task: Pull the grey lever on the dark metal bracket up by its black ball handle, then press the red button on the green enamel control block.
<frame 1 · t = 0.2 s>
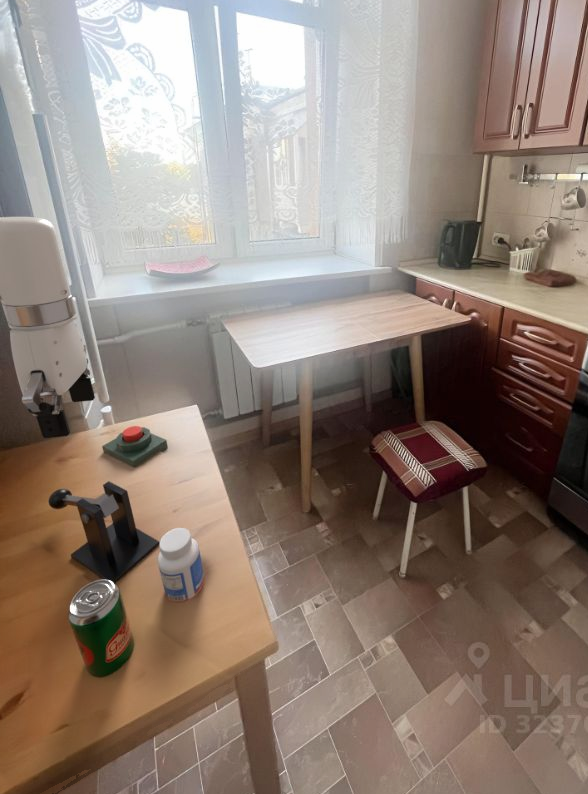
hand: (71, 416, 60), 22 cm above the table, tool pointing down, fingers open, 9 cm apart
bracket: (117, 553, 63), on the table
pill bottle: (185, 587, 58), on the table
soda can: (114, 663, 49), on the table
button: (132, 434, 84), point 4 cm above the table, slide at 0.1 cm
lever: (81, 501, 63), point 8 cm above the table, hinge at -20.0°
control block: (136, 451, 86), on the table
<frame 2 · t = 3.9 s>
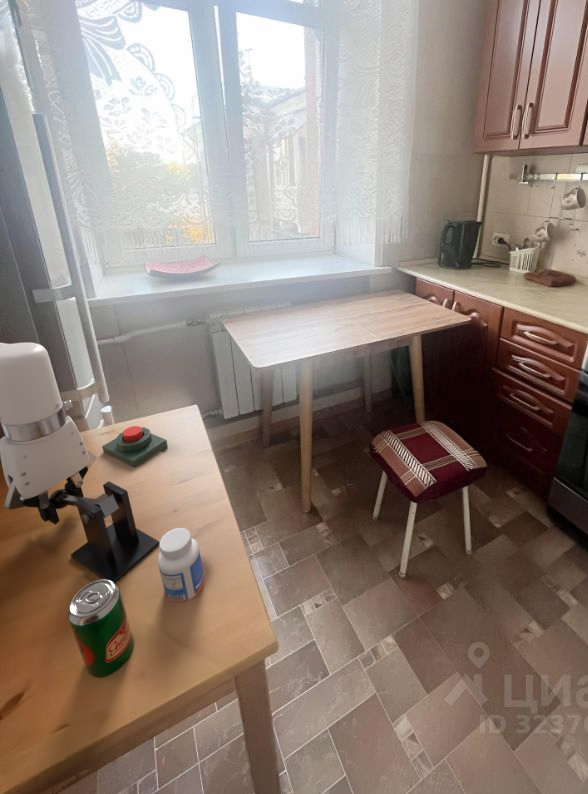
hand: (64, 511, 67), 2 cm above the table, tool pointing down, fingers closed on lever, 3 cm apart
lever: (81, 501, 63), point 8 cm above the table, hinge at -20.0°, touching gripper
everything else where it was.
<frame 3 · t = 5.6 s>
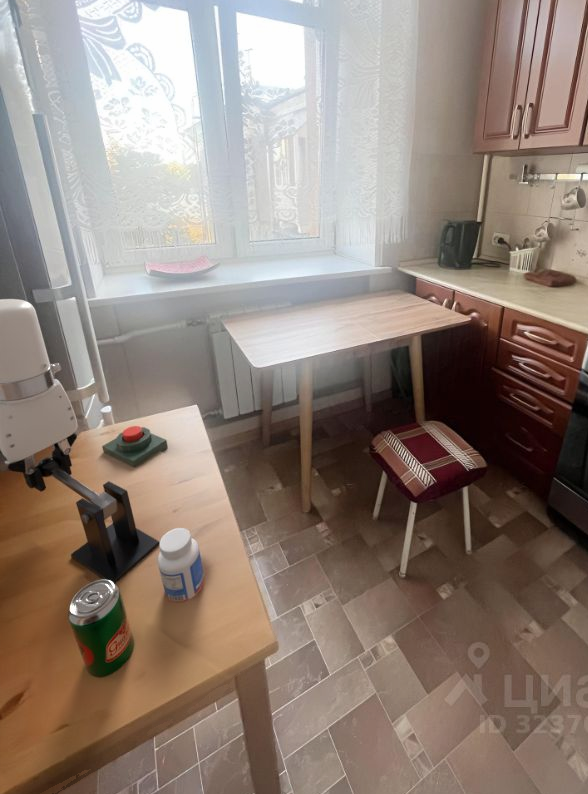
hand: (51, 479, 65), 9 cm above the table, tool pointing down, fingers closed on lever, 3 cm apart
lever: (74, 485, 62), point 11 cm above the table, hinge at 6.8°, touching gripper
everything else where it was.
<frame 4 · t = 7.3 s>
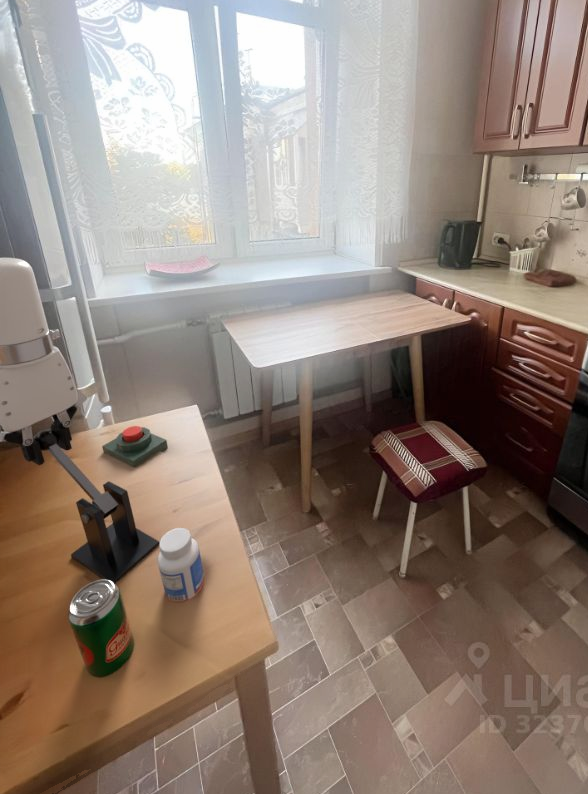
hand: (50, 453, 62), 15 cm above the table, tool pointing down, fingers closed on lever, 3 cm apart
lever: (74, 471, 60), point 14 cm above the table, hinge at 33.6°, touching gripper
everything else where it was.
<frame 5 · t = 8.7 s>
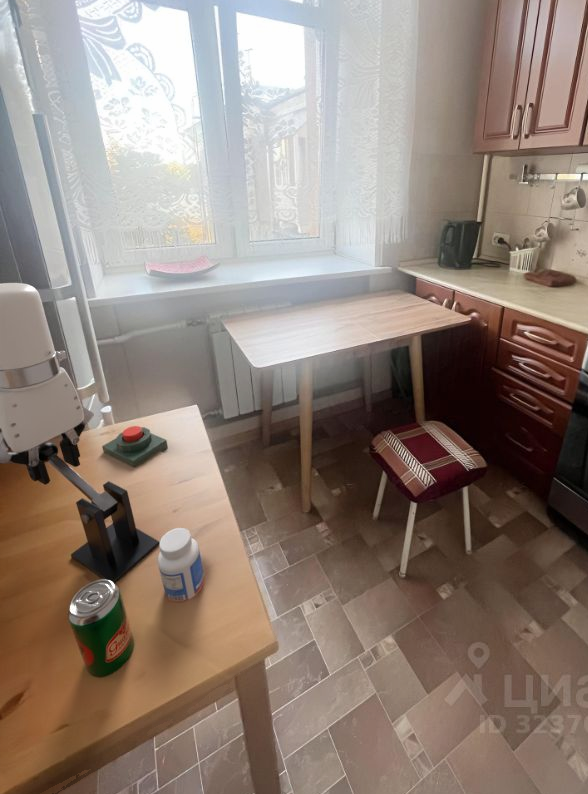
hand: (57, 471, 63), 12 cm above the table, tool pointing down, fingers open, 3 cm apart
lever: (73, 477, 61), point 12 cm above the table, hinge at 20.5°
everything else where it was.
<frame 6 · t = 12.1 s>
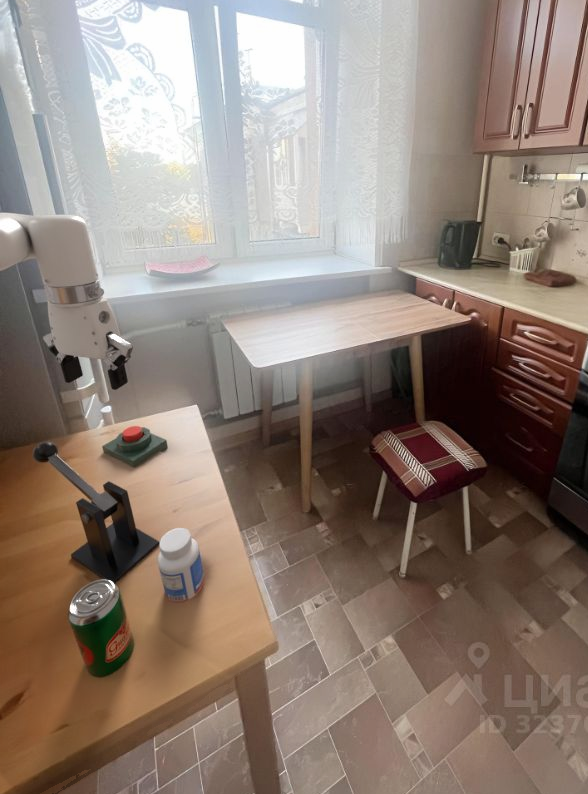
hand: (97, 382, 72), 21 cm above the table, tool pointing down, fingers open, 9 cm apart
nothing on the table moved.
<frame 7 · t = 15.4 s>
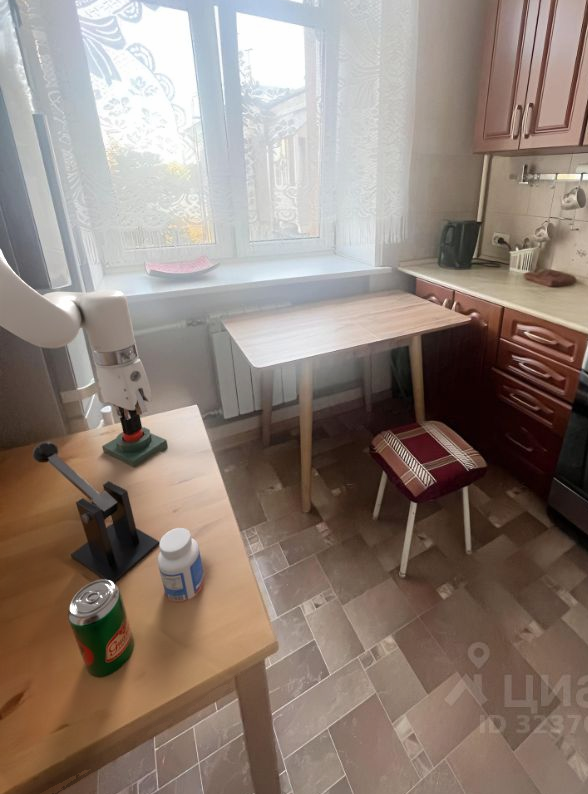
hand: (133, 430, 84), 5 cm above the table, tool pointing down, fingers closed
button: (132, 434, 84), point 4 cm above the table, slide at 0.0 cm, touching gripper
everything else where it was.
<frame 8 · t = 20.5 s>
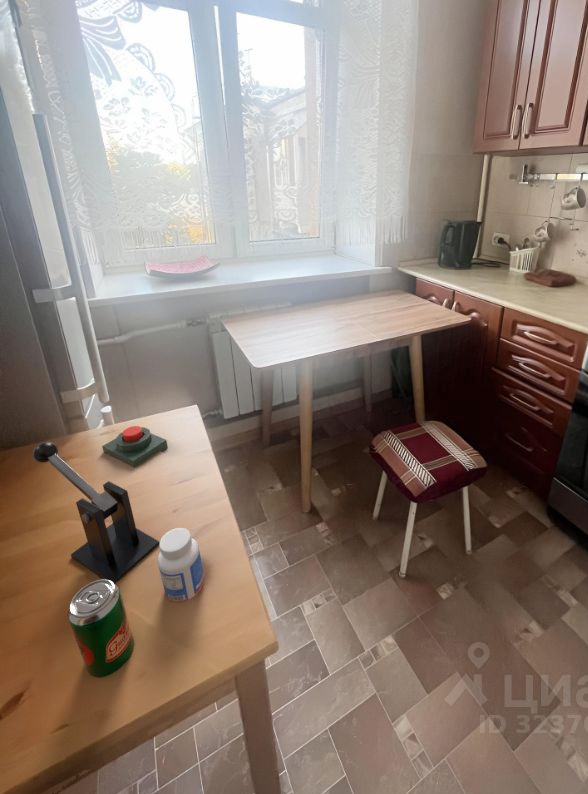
button: (132, 434, 84), point 4 cm above the table, slide at 0.1 cm
everything else where it was.
at the end: lever at +20° (first picture: -20°); button pushed in 1.1 cm at the most during the clip, back to where it started at the end; button slide at 0.1 cm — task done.
